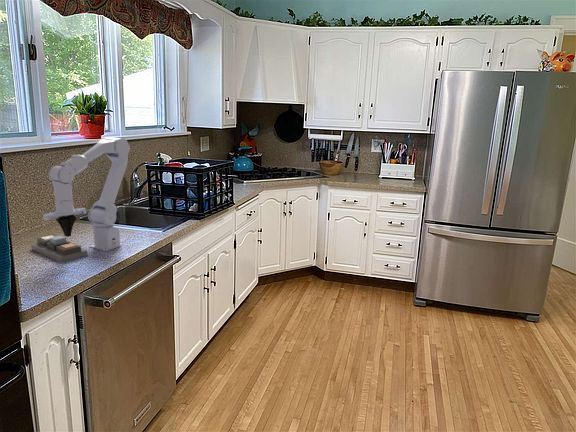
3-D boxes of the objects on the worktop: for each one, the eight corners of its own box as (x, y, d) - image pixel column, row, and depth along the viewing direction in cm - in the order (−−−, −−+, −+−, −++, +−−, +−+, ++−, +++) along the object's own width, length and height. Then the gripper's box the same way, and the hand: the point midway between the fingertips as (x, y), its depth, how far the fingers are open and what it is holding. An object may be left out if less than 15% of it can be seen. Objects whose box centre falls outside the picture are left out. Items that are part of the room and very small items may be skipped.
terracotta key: (77, 250, 155) (76, 245, 155) (66, 253, 152) (65, 247, 152) (71, 248, 158) (71, 243, 157) (60, 250, 154) (60, 245, 154)
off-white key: (56, 242, 164) (56, 237, 163) (46, 244, 161) (45, 239, 160) (51, 240, 166) (51, 235, 165) (41, 242, 163) (40, 237, 162)
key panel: (87, 255, 157) (86, 245, 156) (60, 262, 150) (59, 251, 149) (58, 243, 170) (57, 233, 169) (31, 249, 162) (30, 239, 161)
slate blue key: (66, 242, 159) (65, 237, 159) (55, 245, 156) (55, 239, 156) (61, 240, 161) (60, 235, 161) (50, 242, 158) (49, 237, 158)
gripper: (77, 195, 158) (81, 229, 162) (37, 201, 147) (41, 238, 150) (88, 197, 154) (91, 233, 158) (47, 204, 143) (51, 242, 146)
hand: (67, 235), depth 154 cm, fingers closed
